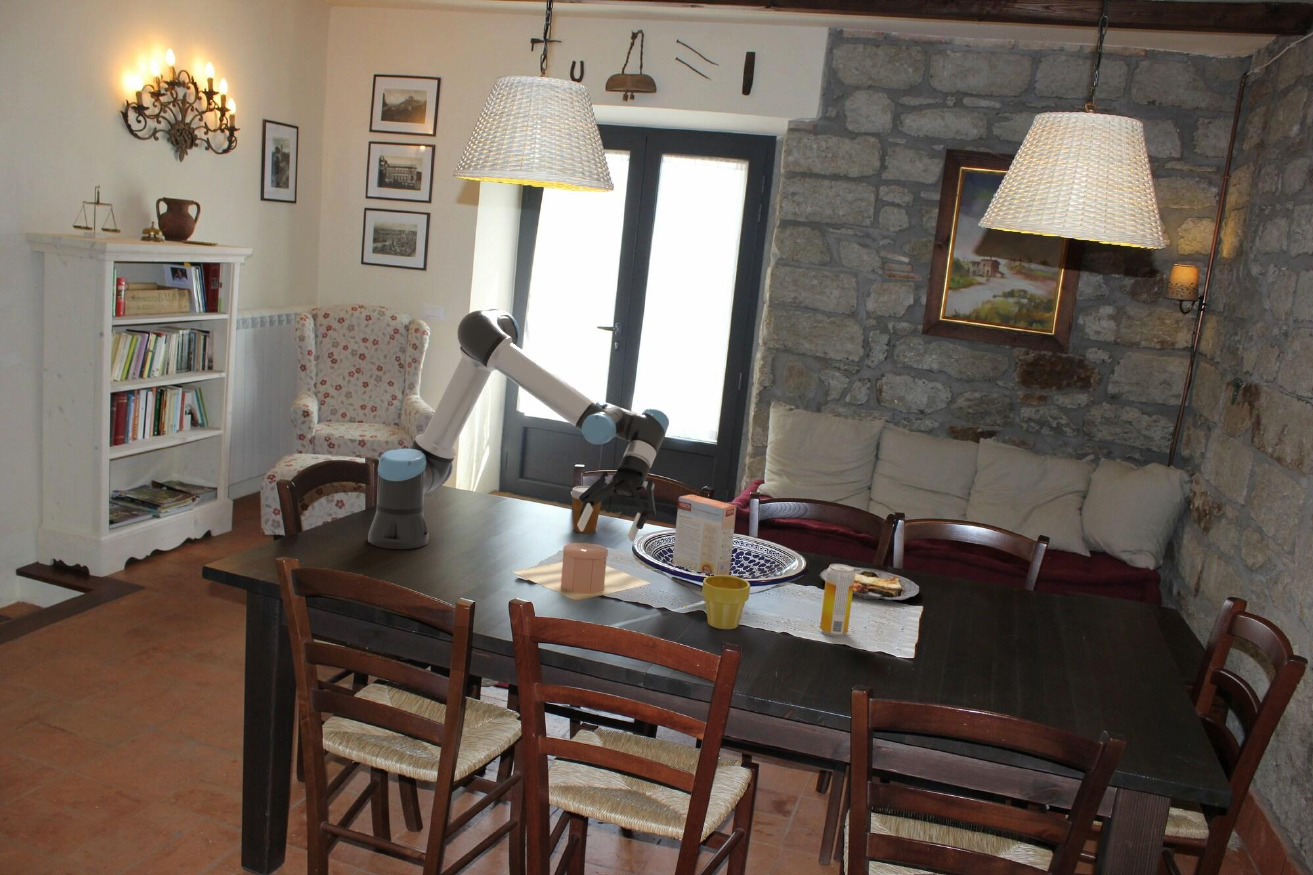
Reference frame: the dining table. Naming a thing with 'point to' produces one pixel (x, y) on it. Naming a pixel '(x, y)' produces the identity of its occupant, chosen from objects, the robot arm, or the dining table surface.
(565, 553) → the terracotta cup
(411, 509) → the robot arm
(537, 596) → the dining table surface
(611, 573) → the bamboo mat
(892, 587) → the food plate
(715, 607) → the plant pot
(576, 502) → the disposable coffee cup
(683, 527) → the cracker box
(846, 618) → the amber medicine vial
